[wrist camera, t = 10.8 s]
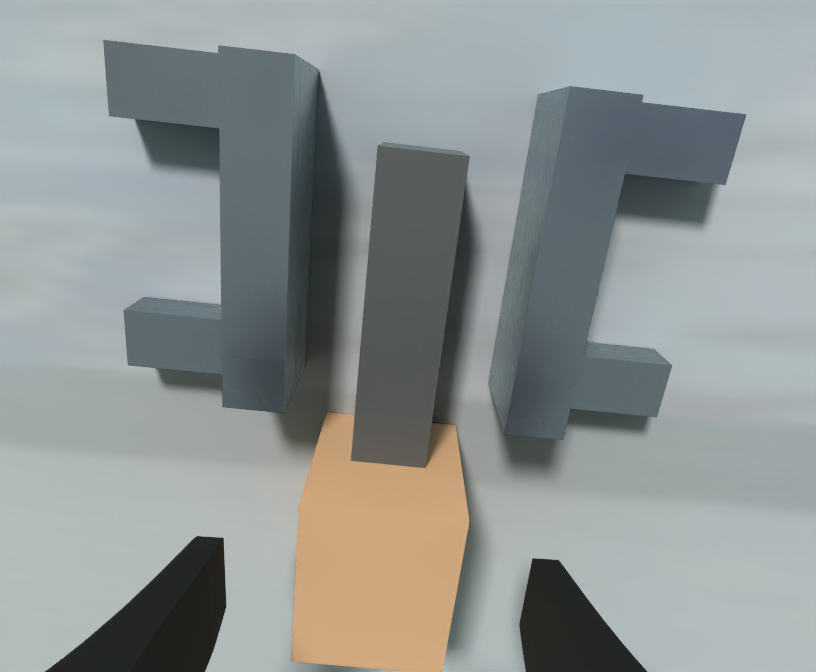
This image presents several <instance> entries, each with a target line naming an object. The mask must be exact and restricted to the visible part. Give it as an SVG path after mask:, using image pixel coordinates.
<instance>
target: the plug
mask: <svg viewBox="0 0 816 672" xmlns="http://www.w3.org/2000/svg"><path fill="white" fill-rule="evenodd" d="M468 163H469V156H468V155H466V154H464V153H463V152H461V151H454V150H445V149H436V148H428V147H419V146H411V145H402V144H393V143H385V142H383V143H381V144H380V145H378V150H377V161H376V173H375V185H374V196H373V208H372V219H371V231H370V243H369V254H368V266H367V278H366V289H365V301H364V312H363V324H362V336H361V347H360V359H359V371H358V382H357V394H356V405H355V415H350V414H340V413H330V412H327V413H326V416H325V419H324V423H323V426H322V429H321V433H320V436H319V439H318V443H317V446H316V450H315V453H314V456H313V460H312V463H311V466H310V470H309V473H308V476H307V480H306V483H305V486H304V490H303V493H302V496H301V500H300V503H299V513H298V533H297V553H296V574H295V594H294V614H293V634H292V654H291V662H303V663H314V664H326V665H338V666H349V667H361V668H372V669H384V670H395V671H407V672H442V670H443V665H444V659H445V654H446V648H447V643H448V637H449V632H450V626H451V621H452V615H453V610H454V604H455V599H456V593H457V588H458V582H459V577H460V571H461V566H462V560H463V555H464V549H465V544H466V538H467V532H468V527H469V514H468V507H467V500H466V493H465V486H464V479H463V473H462V466H461V459H460V452H459V445H458V438H457V431H456V425H449V424H439V423H432V418H433V411H434V403H435V396H436V389H437V382H438V375H439V368H440V361H441V354H442V347H443V340H444V333H445V326H446V319H447V312H448V305H449V297H450V290H451V283H452V276H453V269H454V262H455V255H456V248H457V241H458V234H459V227H460V220H461V213H462V206H463V199H464V191H465V184H466V177H467V170H468Z"/></svg>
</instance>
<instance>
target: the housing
mask: <svg viewBox="0 0 816 672" xmlns="http://www.w3.org/2000/svg"><path fill="white" fill-rule="evenodd" d="M103 41H104V55H105V68H106V81H107V95H108V108H109V116H113V117H122V118H131V119H140V120H149V121H158V122H167V123H176V124H184V125H193V126H202V127H211V128H219V142H220V231H221V305H217V304H207V303H197V302H187V301H177V300H168V299H158V298H148V297H143V298H142V299H140V300H139V301H137V302H136V303H134V304H132V305H131V306H129V307H128V308H126V309H125V310H124V320H125V333H126V347H127V360H128V365H130V366H140V367H151V368H161V369H171V370H181V371H191V372H201V373H212V374H222V407H226V408H237V409H247V410H258V411H268V412H278V413H284V411H285V409H286V406H287V404H288V402H289V400H290V398H291V395H292V393H293V391H294V389H295V386H296V384H297V382H298V380H299V377H300V375H301V373H302V371H303V369H304V366H305V358H306V336H307V314H308V292H309V270H310V248H311V226H312V204H313V182H314V160H315V137H316V115H317V93H318V71H319V69H318V68H316V67H314V66H313V65H311V64H310V63H308V62H306V61H305V60H303V59H302V58H300V57H298V56H297V55H295V54H288V53H279V52H271V51H262V50H254V49H245V48H236V47H228V46H219V45H218V53H211V52H203V51H194V50H185V49H177V48H168V47H160V46H151V45H142V44H134V43H125V42H116V41H108V40H103ZM642 99H643V95H640V94H632V93H623V92H615V91H606V90H597V89H589V88H580V87H572V86H569V87H565V88H561V89H558V90H554V91H550V92H546V93H542V94H538V98H537V104H536V110H535V116H534V122H533V127H532V133H531V139H530V145H529V151H528V156H527V162H526V168H525V174H524V180H523V185H522V191H521V197H520V203H519V209H518V215H517V220H516V226H515V232H514V238H513V244H512V249H511V255H510V261H509V267H508V273H507V278H506V284H505V290H504V296H503V302H502V307H501V313H500V319H499V325H498V331H497V337H496V342H495V348H494V354H493V360H492V366H491V371H490V377H489V386H490V389H491V393H492V396H493V399H494V403H495V406H496V409H497V413H498V416H499V419H500V423H501V426H502V429H503V433H504V434H507V435H517V436H527V437H538V438H548V439H559V440H563V438H564V434H565V430H566V426H567V421H568V417H569V413H570V409H578V410H589V411H599V412H609V413H619V414H629V415H640V416H650V417H657V415H658V412H659V408H660V405H661V402H662V398H663V395H664V391H665V388H666V385H667V381H668V378H669V374H670V371H671V368H672V365H671V364H670V363H669V362H668V361H667V360H666V359H665V358H663V357H662V356H661V355H660V354H659V353H658V352H657V351H656V350H655V349H648V348H638V347H628V346H619V345H609V344H599V343H589V342H586V340H587V335H588V331H589V327H590V322H591V318H592V314H593V309H594V305H595V301H596V297H597V292H598V288H599V284H600V279H601V275H602V271H603V267H604V262H605V258H606V254H607V249H608V245H609V241H610V236H611V232H612V228H613V224H614V219H615V215H616V211H617V206H618V202H619V198H620V193H621V189H622V185H623V181H624V176H625V174H632V175H641V176H650V177H659V178H668V179H677V180H686V181H695V182H704V183H713V184H721V185H726V181H727V178H728V175H729V171H730V168H731V164H732V161H733V158H734V154H735V151H736V147H737V144H738V141H739V137H740V134H741V130H742V127H743V124H744V120H745V117H746V114H738V113H729V112H721V111H712V110H703V109H695V108H686V107H677V106H669V105H660V104H651V103H643V102H642Z"/></svg>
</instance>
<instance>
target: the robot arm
mask: <svg viewBox="0 0 816 672" xmlns="http://www.w3.org/2000/svg"><path fill="white" fill-rule="evenodd" d="M225 609H226V588H225V564H224V540H223V538H216V537H201V536H197V537H195V538H194V539H193V540H192V541H191V542H190V543H189V544H188V545H187V546H186V547H185V548H184V549H183V550H182V551H181V552H180V553H179V554H178V555H177V556H176V557H175V558H174V559H173V560H172V561H171V562H170V563H169V564H168V565H167V566H166V567H165V568H164V569H163V570H162V571H161V572H160V573H159V574H158V575H157V576H156V577H155V578H154V579H153V580H152V581H151V582H150V583H149V584H148V585H147V586H146V587H145V588H144V589H142V590H141V591H140V592H139V593H138V594H137V595H136V596H135V597H134V598H133V599H132V600H131V601H130V602H129V603H128V604H127V605H125V606H124V607H123V608H122V609H121V610H120V611H119V612H118V613H117V614H115V615H114V616H113V617H112V618H111V619H110V620H108V621H107V622H106V623H105V624H104V625H103V626H102V627H100V628H99V629H98V630H97V631H96V632H95V633H93V634H92V635H91V636H90V637H89V638H88V639H86V640H85V641H84V642H83V643H81V644H80V645H79V646H78V647H77V648H75V649H74V650H73V651H72V652H70V653H69V654H68V655H66V656H65V657H64V658H63V659H61V660H60V661H59V662H57V663H56V664H55V665H53V666H52V667H51V668H49V669H48V670H47V671H45V672H205V670H206V668H207V665H208V663H209V660H210V658H211V655H212V653H213V650H214V647H215V643H216V640H217V637H218V633H219V630H220V627H221V623H222V620H223V616H224V613H225ZM520 633H521V641H522V648H523V655H524V662H525V668H526V672H647V671H646V670H645V669H644V668H643V666H642V665H641V664H640V663H639V662H638V661H637V660H636V659H635V657H634V656H633V655H632V654H631V653H630V652H629V650H628V649H627V648H626V647H625V646H624V644H623V643H622V642H621V641H620V640H619V638H618V637H617V636H616V635H615V633H614V632H613V631H612V630H611V628H610V627H609V626H608V625H607V624H606V622H605V621H604V620H603V619H602V617H601V616H600V615H599V613H598V612H597V611H596V610H595V608H594V607H593V606H592V604H591V603H590V602H589V600H588V599H587V598H586V596H585V595H584V594H583V592H582V591H581V590H580V588H579V587H578V586H577V584H576V583H575V581H574V580H573V579H572V577H571V576H570V575H569V573H568V572H567V571H566V569H565V568H564V566H563V565H562V564H561V563H560V561H559V560H549V559H534V558H533V559H532V564H531V569H530V574H529V579H528V584H527V589H526V594H525V599H524V604H523V609H522V614H521V619H520Z"/></svg>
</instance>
